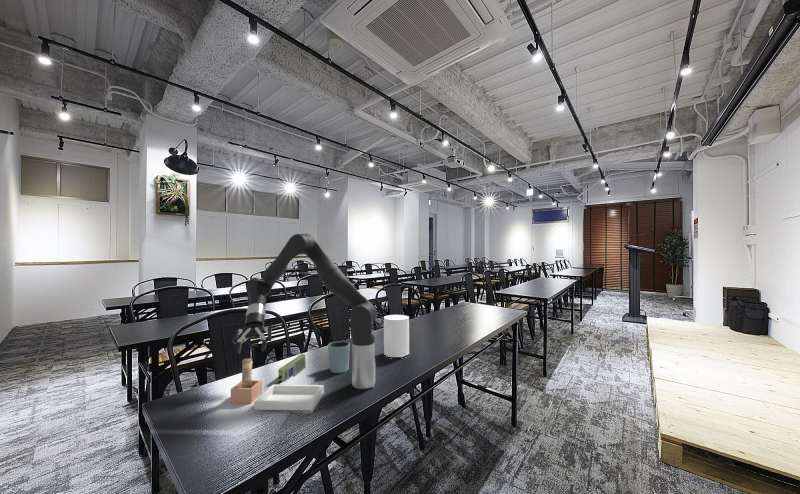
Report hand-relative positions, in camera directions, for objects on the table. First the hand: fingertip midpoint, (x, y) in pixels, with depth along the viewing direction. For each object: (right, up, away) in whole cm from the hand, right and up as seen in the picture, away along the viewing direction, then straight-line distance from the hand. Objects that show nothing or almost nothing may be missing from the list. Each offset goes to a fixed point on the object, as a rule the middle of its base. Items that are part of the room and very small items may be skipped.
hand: (250, 351), depth 120 cm
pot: (+3, -15, -8) cm, 18 cm away
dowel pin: (+3, -14, -8) cm, 17 cm away
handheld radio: (+11, -16, +12) cm, 23 cm away
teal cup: (+31, -16, +22) cm, 41 cm away
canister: (+57, -17, +43) cm, 73 cm away
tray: (+20, -15, -10) cm, 27 cm away
